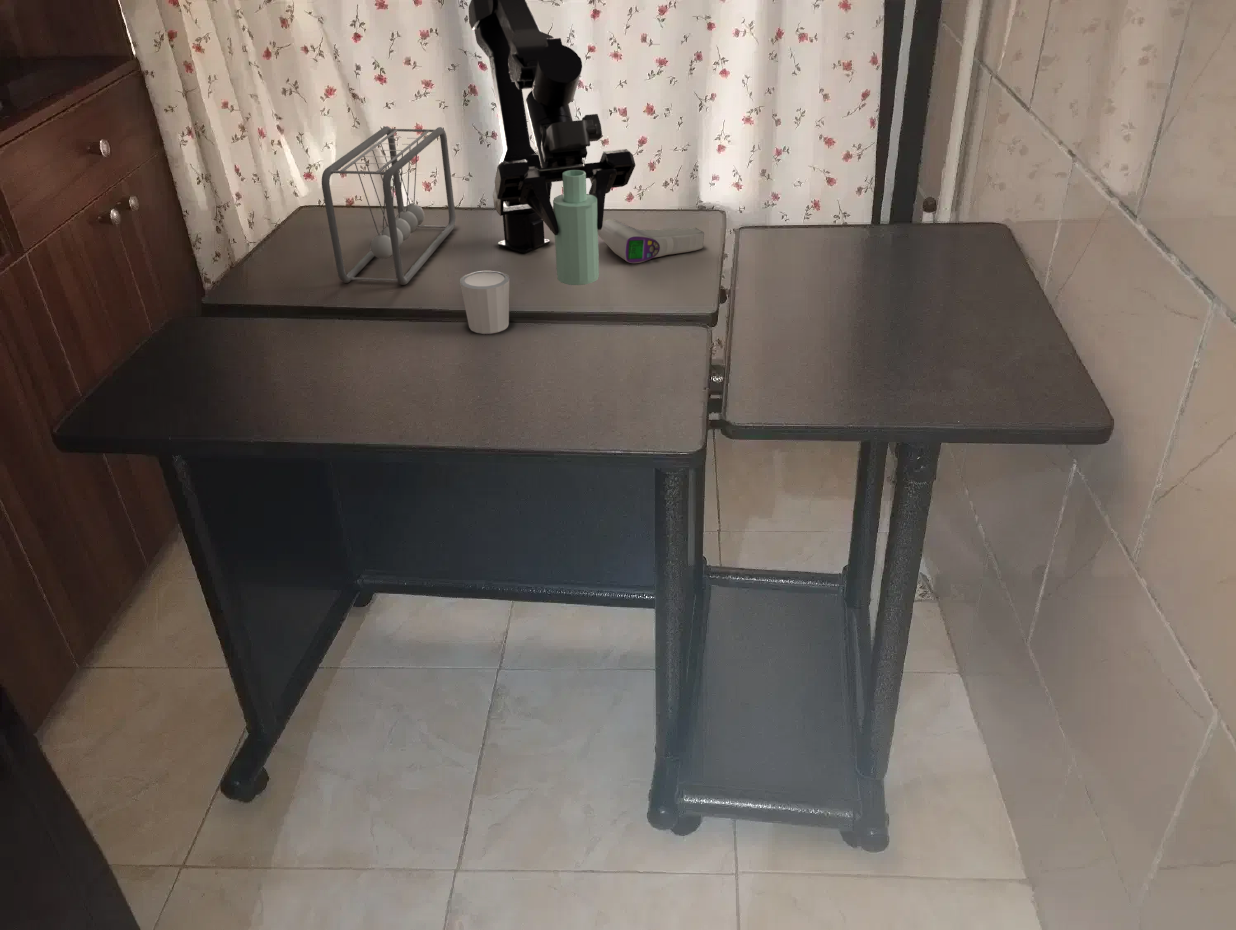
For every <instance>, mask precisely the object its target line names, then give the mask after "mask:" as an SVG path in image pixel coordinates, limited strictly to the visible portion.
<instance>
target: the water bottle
mask: <svg viewBox="0 0 1236 930" xmlns="http://www.w3.org/2000/svg"><path fill="white" fill-rule="evenodd" d="M562 176H563V181H562V194H560V195H556V196H555V197H553V200H552V204H553V205H552V208H553V211H554V214H555V217H556V220H557V225H558V230H559V233H558V235H554V248H555V249H554V250H555V267H556V278H557V281H558V282H560V284H561V283H562V284H564V285H569V286H585V285H586V286H587V285H589V284H593V283H595V282H596V281H598V280H599V278H600V275H599V274H600V262H599V261H600V258H599V257H600V255H599V235H598V219H597V198H596V197H595V196H593V195H590V194H589V193H587V178H586V173H585V172H584V171H581V170H569V171H565V172H563V173H562Z"/></svg>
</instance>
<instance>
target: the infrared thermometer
mask: <svg viewBox="0 0 1236 930" xmlns="http://www.w3.org/2000/svg"><path fill="white" fill-rule="evenodd" d="M598 237H599V238H600V239H601V240H602V241H603V242H604V243H605V244H606V245H607V246H608V248H609V249H611V251H612V252H613V253H614V254H615V255H617V256H618V257H620V258H621V259H623V260H625V261H626V262H627V263H629V264H641V263H644V262H647V261H649V260H651V259H655V258H659V257H664V256H668V255H675V254H683V253H689V252H695V251H698V250H701V249H703V248H704V242H705V241H704V240H705V232H704V231H703V230H701V229H699V228H697V227H688V228H658V229H655V228H654V229H653V228H652V229H647V228H643V229H639V228H635V227H633V226H631V225H628V224H626V223H623V222H622V221H619V220H617V219H606V220H603V226H602V229H601V230H598Z"/></svg>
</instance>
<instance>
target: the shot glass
mask: <svg viewBox="0 0 1236 930" xmlns="http://www.w3.org/2000/svg"><path fill="white" fill-rule="evenodd" d="M459 285H460V291H461V294H462V295H461V296H462V300H463V305H464V309H465V314H466V319H467V325H468V328H469V329H470V331H471V332H474V333H477V334H483V335H485V334H486V335H488V334H489V335H492V334H496V333H500V332H503V331H505V330H506V329H508V328H509V325H510V276H509V275H508V274H507V273H505V272H502V271H497V270H479V271H474V272H473V271H472V272H470V273H468V274H465V275H463V276H462V277H460V280H459Z"/></svg>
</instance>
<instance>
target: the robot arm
mask: <svg viewBox="0 0 1236 930" xmlns="http://www.w3.org/2000/svg"><path fill="white" fill-rule="evenodd" d="M468 21H469V26H470V29H471V30H474V36H475V41H476V44H477V46H478V47H479V48H480V49H481V50H482V51H483V53H484V54H485V55H486V57H487V58H488V60H489V67H490V72H491V80H492V85H493V92H494V96H495V97H494V98H495V104H496V111H497V112H496V113H497V117H498V124H499V131H500V138H501V143H502V144H501V145H502V151H503V153H502V155H501V158H500V160H499V163H498V165H497V167H496V172H495V177H494V188H493V191H492V192H493V193H492V200H493V207H494V210H495V211H496V212H497V213H498V215H499V216H501V217H502V225H503V226H502V227H503V237H504V238H503V239H504V240H500V241H498V243H497V246H499V247H502V248H505V249H508V250H512V251H516V252H519V253H522V254H526V253H527V254H528V253H529V252H531V251H534V250H538V249H539V248H542V247H544V246H546V245H549V244H550V242H551V240H550V239H548V238H545V225H546V226H547V228H548V229H549V230H550V231H551V233H552V234H553V235H554V236H555V235H558V233H559V230H558V225H557V220H556V217H555V214H554V211H553V205H552V202H551V193H552V186H553V183H557V182H563V176H562V173H563V172H565V171H569V170H581V171H584V172H585V173H586V179H589V180H590V185H591V186H590V187H589V191H588V194H590V195H593V196H595V197H596V198H597V219H598V230H601V229H602V226H603V221H604V214H605V213H604V212H605V201H606V194H609V193H610V192H611V190H612V189H613V188H622V187H625V186H627V185H628V183H629V181H630V179H631V178H632V175H633V172H634V170H635V167H636V162H635V158H634V155H633V153H632V152H631V151H630V150H629V149H627V148H624V149H615V150H614V149H613V150H605V151H602V153H601V156H600V158H599V159H600V160H599V161H596V162H586V163H584V160H583V159H587V156H588V149H587V147H590V146H591V142H598V141H599V140H601V139H602V137H603V130H602V124H601V121H600V117H599V114H598V113H592V114H585V115H584V116H583V117H582V118H581V120H579V119H578V120H574V119H573V117H572V112H571V107H570V103H572V102H573V101H574V98H575V95H576V91H577V88H578V84H579V80H580V78H581V73H582V70H583V61H582V58H581V57H580V56H579V55H578V53H577V52H576V51H575V50H574V49H572V48H571V47H570V46H567V45H564V44H563V42H562V38H561V37H557V38H556V37H554V36H552V35H551V34H548V33H545V32H543V31H541V29H540V27H539V25H538V23H537V21H536V20H535V17H534V15H533V12H532V11H531V9H530V7H529V5H528V3H527V1H526V0H470V2H469V4H468ZM523 90H530V91H529V93H528V94H527V96H526V98H525V100H524V94H523V93H524V92H523ZM525 105H526V107H525ZM526 109H527V113H528V117H529V121H530V126H531V131H532V134H533V138H534V143H535V146H534V149H533V147H532V146H531V139H530V133H529V127H528V120H527V113H526ZM544 223H545V224H544Z"/></svg>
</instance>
